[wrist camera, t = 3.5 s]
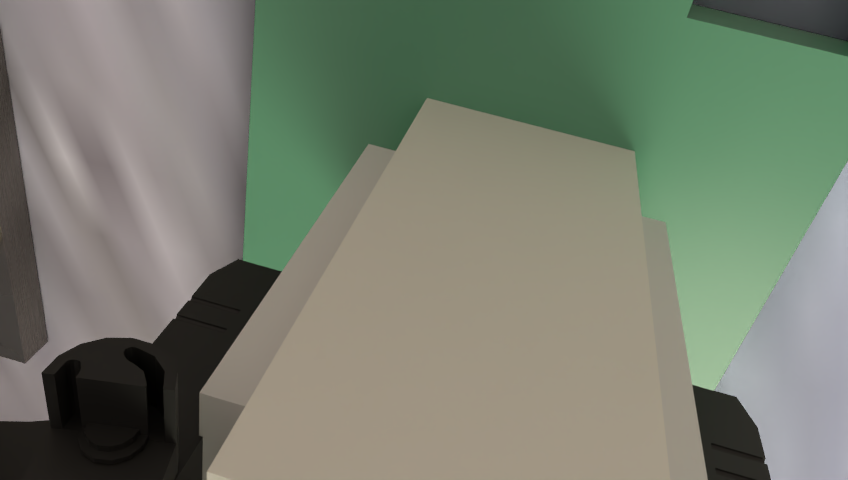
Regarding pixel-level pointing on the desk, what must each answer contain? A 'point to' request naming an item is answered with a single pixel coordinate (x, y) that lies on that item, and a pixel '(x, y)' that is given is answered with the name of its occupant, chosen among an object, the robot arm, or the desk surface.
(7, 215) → the plate
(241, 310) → the robot arm
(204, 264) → the desk surface
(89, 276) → the desk surface
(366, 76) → the circuit board
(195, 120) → the desk surface
